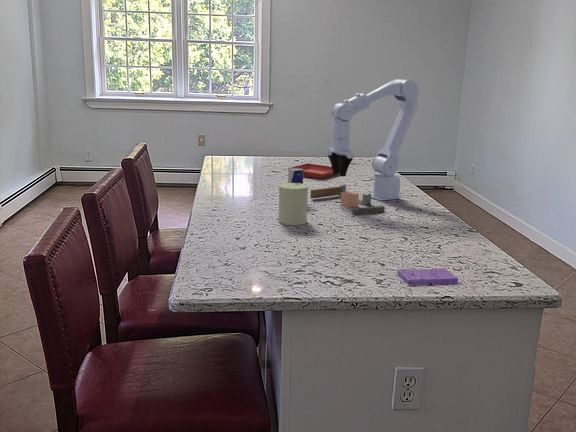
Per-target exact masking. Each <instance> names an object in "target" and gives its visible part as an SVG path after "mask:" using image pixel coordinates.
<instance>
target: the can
mask: <svg viewBox="0 0 576 432" xmlns="http://www.w3.org/2000/svg"><path fill="white" fill-rule="evenodd" d="M308 191H309V185H307V184H304V183H303V184H301V183H288V182H285V183H280V184H279V185H278V192H279V193H278V218H277V222H278V223H279V224H282V225H287V226H301V225H305V224H307V222H308V216H307V215H308V196H309V195H308Z"/></svg>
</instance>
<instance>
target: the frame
mask: <svg viewBox="0 0 576 432" xmlns="http://www.w3.org/2000/svg"><path fill="white" fill-rule="evenodd" d="M339 187H340V195H338V196H340V197H341V192H347V185H346V184H340V185H339ZM371 195H373V193H362V199H358V205H361V206H362V205H364V206H365V207H372V197H371Z"/></svg>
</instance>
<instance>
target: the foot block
mask: <svg viewBox="0 0 576 432" xmlns="http://www.w3.org/2000/svg"><path fill="white" fill-rule="evenodd" d="M359 195H360V194H359V193H358V192H355V191H349V190H348V191H346V192H341V196H340V205H342V206H343V207H346V208H351V207H352V208H353V207H359V203H358V199H359V198H360V197H359ZM359 200H360V199H359Z"/></svg>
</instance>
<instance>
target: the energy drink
mask: <svg viewBox="0 0 576 432" xmlns="http://www.w3.org/2000/svg"><path fill="white" fill-rule="evenodd" d="M289 168H290V167H289ZM287 183H301V184H304V177H303V169H301V168H290V169H289V170H288V172H287Z"/></svg>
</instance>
